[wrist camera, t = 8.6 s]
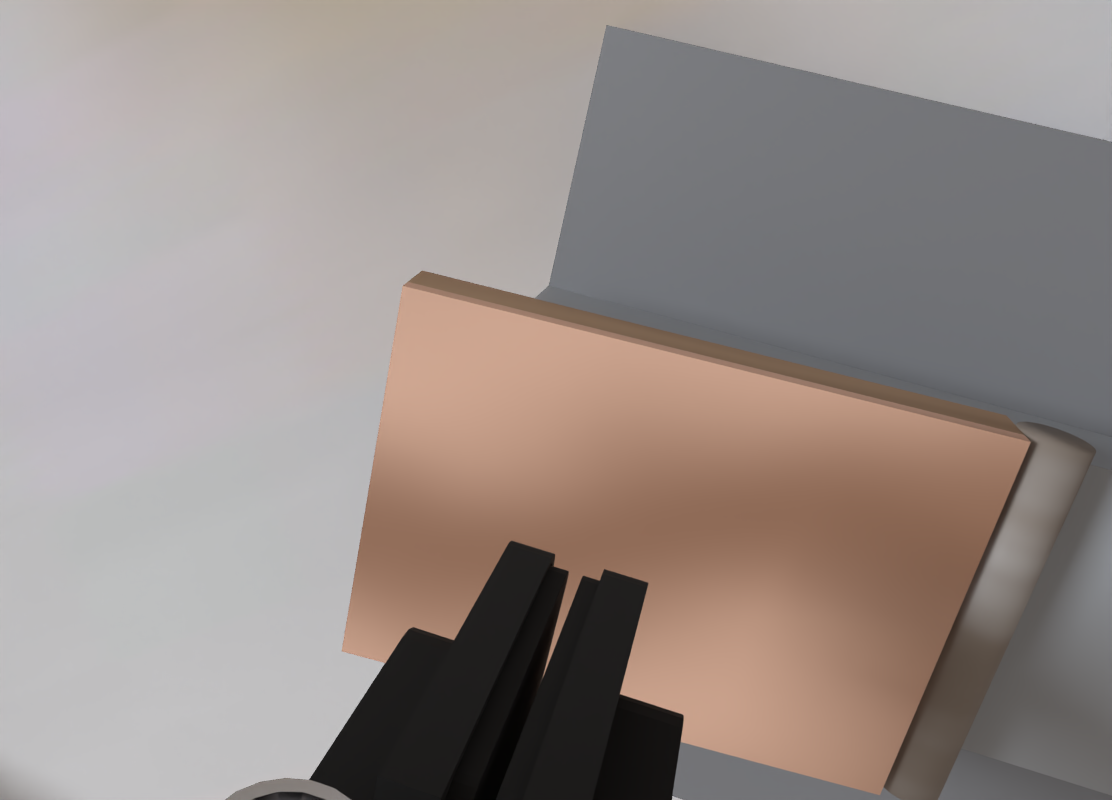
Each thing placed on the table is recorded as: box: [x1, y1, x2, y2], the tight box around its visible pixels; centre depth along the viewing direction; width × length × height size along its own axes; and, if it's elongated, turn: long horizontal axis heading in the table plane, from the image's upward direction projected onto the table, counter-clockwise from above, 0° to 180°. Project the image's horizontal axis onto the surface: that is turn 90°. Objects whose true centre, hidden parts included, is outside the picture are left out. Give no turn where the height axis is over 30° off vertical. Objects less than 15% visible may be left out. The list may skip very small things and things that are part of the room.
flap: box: [342, 271, 1096, 800], centre depth 17 cm, size 7×11×1 cm, turn 78°
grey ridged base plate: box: [535, 25, 1112, 800], centre depth 19 cm, size 16×20×3 cm
